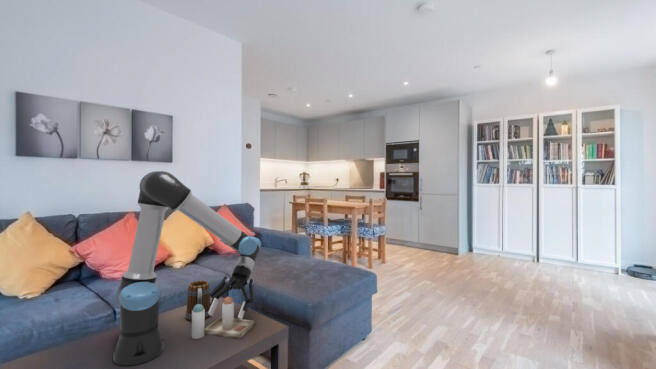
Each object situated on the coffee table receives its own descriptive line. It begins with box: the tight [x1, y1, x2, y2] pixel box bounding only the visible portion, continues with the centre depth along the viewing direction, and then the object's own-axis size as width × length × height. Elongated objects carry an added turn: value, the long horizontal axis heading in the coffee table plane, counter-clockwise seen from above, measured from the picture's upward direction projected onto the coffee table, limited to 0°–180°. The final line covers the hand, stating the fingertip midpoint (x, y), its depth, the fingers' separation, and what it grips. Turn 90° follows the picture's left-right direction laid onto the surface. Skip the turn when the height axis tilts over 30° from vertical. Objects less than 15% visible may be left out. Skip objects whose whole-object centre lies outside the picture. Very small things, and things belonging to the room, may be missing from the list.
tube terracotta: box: [221, 296, 235, 330], centre depth 129 cm, size 5×5×12 cm
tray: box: [204, 316, 256, 340], centre depth 128 cm, size 16×12×2 cm
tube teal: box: [191, 304, 206, 340], centre depth 122 cm, size 5×5×12 cm
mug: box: [185, 279, 211, 322], centre depth 137 cm, size 16×11×15 cm
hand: (224, 316), depth 126 cm, fingers open, 13 cm apart
